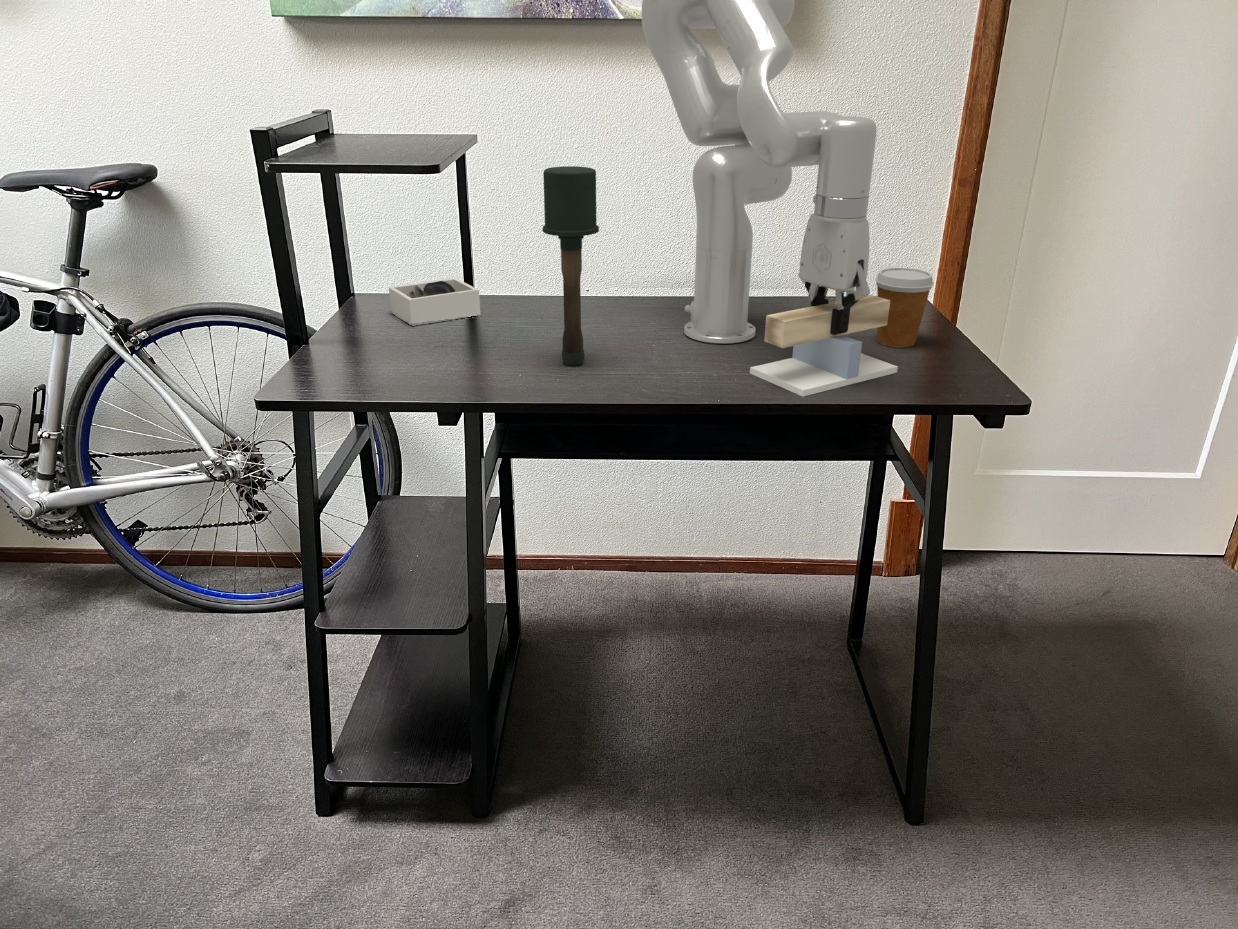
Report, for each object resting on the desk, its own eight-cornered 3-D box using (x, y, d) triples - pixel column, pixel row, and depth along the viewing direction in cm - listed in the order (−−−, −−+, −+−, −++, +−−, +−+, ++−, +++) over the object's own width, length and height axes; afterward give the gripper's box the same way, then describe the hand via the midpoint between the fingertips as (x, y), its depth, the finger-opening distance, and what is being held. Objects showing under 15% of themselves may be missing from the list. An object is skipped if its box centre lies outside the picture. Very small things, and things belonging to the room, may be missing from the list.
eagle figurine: (410, 315, 166) (458, 305, 167) (402, 278, 167) (451, 268, 167) (419, 327, 174) (465, 317, 174) (411, 291, 175) (457, 282, 175)
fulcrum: (749, 373, 143) (752, 333, 140) (841, 352, 152) (846, 314, 150) (802, 396, 134) (806, 354, 131) (896, 372, 143) (902, 332, 141)
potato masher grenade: (607, 357, 149) (606, 167, 136) (588, 374, 142) (586, 174, 129) (559, 352, 152) (554, 164, 139) (538, 368, 144) (531, 171, 132)
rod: (764, 341, 136) (766, 315, 135) (868, 319, 147) (871, 294, 145) (782, 348, 133) (784, 321, 132) (887, 325, 144) (890, 300, 142)
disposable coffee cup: (856, 338, 160) (864, 270, 155) (899, 331, 163) (908, 265, 158) (891, 353, 152) (901, 282, 147) (936, 346, 155) (947, 277, 150)
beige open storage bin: (391, 313, 173) (388, 287, 170) (457, 303, 179) (456, 278, 177) (411, 327, 164) (409, 299, 162) (480, 316, 171) (479, 289, 169)
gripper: (782, 201, 137) (773, 320, 145) (865, 219, 124) (850, 347, 132) (819, 197, 140) (808, 313, 148) (903, 214, 128) (886, 339, 136)
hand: (828, 328), depth 140 cm, fingers closed on rod, 3 cm apart
